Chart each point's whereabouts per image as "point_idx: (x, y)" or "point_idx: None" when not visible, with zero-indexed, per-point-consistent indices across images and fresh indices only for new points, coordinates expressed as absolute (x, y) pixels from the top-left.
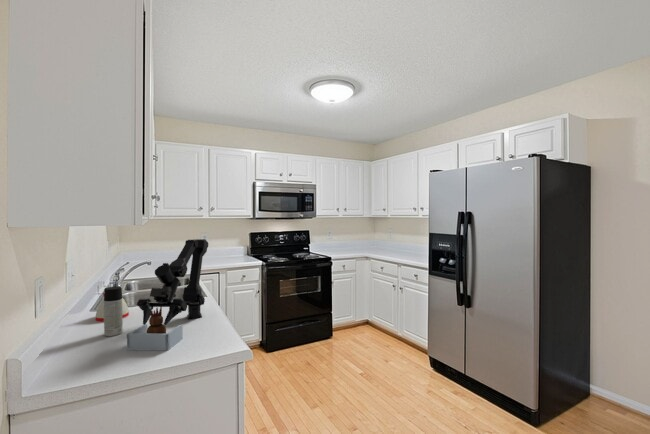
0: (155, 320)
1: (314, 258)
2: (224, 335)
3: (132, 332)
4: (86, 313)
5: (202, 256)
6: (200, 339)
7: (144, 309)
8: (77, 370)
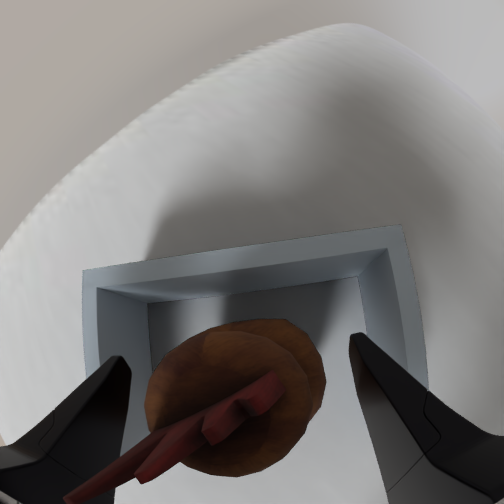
0: (185, 341)
1: None
2: None
3: (393, 267)
4: None
5: None
6: None
7: (476, 448)
8: (378, 87)
